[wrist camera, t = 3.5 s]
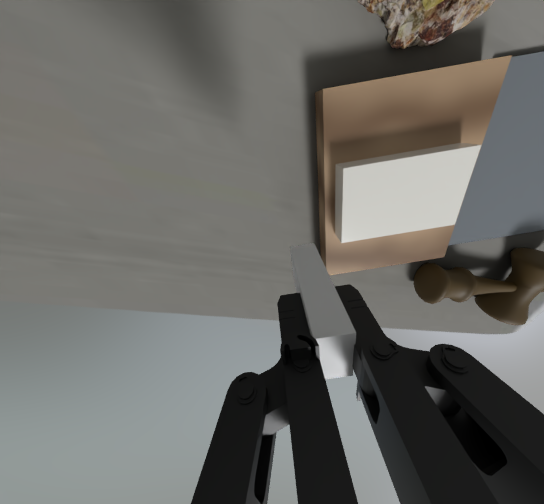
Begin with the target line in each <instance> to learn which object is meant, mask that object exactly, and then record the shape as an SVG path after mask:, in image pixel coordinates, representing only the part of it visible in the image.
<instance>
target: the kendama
mask: <svg viewBox="0 0 544 504" xmlns="http://www.w3.org/2000/svg"><path fill="white" fill-rule="evenodd" d="M511 264H512V271H511V273H510V274H509V276H508V277H507V278H506V280H505V281H499V280H493V279H488V278H483V277H479V276H475V275H473V274H472V273H471V272H470V271H469V270H467V269H465V268H463V267H454V268H452V269H450V270H444V269H443V268H442V267H440V266H439V265H437V264H435V263H426V264H424V265H422V266H421V267H420V268H419V269H418V270H417V272H416V274H415V277H414V287H415V291H416V292H417V294H418V296H419V297H420V298H421V299H422V300H424V301H425V302H427V303H431V304H434V303H437V302H440V301H441V300H442V299H443V298H450V299H452V300H453V301H456V302H463V301H467V300H468V299H469V298H470V297H471V296H473V295H478V294H479V295H478V296H476V297H475V302H476V304H477V305H478V306H479V307H480V308H481V309H482V310H483V311H484V312H485V313H487V314H488V315H489V316H491V317H493V318H495V319H496V320H499V321H501V322H504V323H507V324H511V325H523V324H525V323H526V321H527V319H528V308H529V304H530V302H531V301H532V300H533V299H534V297H536V296H537V295H538V294H539V293H540V292H544V252H543V251H539V250H535V249H530V248H515V249H513V250H512V251H511Z"/></svg>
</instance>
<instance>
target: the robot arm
mask: <svg viewBox="0 0 544 504" xmlns="http://www.w3.org/2000/svg"><path fill="white" fill-rule="evenodd" d="M290 252H291V260H292V269H293V277H294V283H295V287H296V292H297V293H294V294H287V295H281V296H280V299H279V301H278V303H277V304H278V313H279V322H280V331H281V340H282V344H281V349H280V351H281V358H280V360H279V361H278V363H277V364H276V365H275V366H274V367H272V368H271V369H269V370H267V371H265V372H263V373H261V374H259V375H258V374H256V373H253V372H247V373H243V374H241V375H239V376H238V377H236V379H235V380H234V381H232V383H231V385H230V387H229V389H228V391H227V394H226V398H225V401H224V404H223V407H222V410H221V413H220V416H219V419H218V422H217V425H216V428H215V431H214V434H213V438H212V441H211V444H210V447H209V450H208V453H207V456H206V459H205V462H204V465H203V469H202V471H201V474H200V477H199V481H198V484H197V487H196V490H195V493H194V496H193V499H192V502H191V504H267V500H268V493H269V485H270V477H271V469H272V462H273V454H274V446H275V439H276V432H277V431H279V430H280V429H282V428H284V427H285V426H287V425H289V424H290V432H291V442H292V451H293V460H294V469H295V479H296V488H297V496H298V504H358V502H357V498H356V494H355V490H354V487H353V483H352V479H351V475H350V471H349V468H348V464H347V460H346V457H345V453H344V449H343V445H342V442H341V438H340V434H339V430H338V426H337V422H336V419H335V415H334V411H333V408H332V404H331V400H330V396H329V392H328V389H327V385H326V381H325V379H331V378H338V377H345V376H352V375H353V369H354V372H355V374H356V377H357V379H358V383H357V393H356V395H357V400H358V401H360V398H361V399H362V402H363V404H364V407H365V410H366V413H367V415H368V418H369V421H370V423H371V426H372V429H373V431H374V434H375V437H376V439H377V442H378V445H379V448H380V450H381V453H382V456H383V458H384V461H385V464H386V466H387V469H388V472H389V474H390V477H391V480H392V482H393V485H394V488H395V490H396V493H397V496H398V498H399V501H400V503H401V504H544V414H543V413H541V412H540V411H539V410H538V409H536V408H535V407H534V406H533V405H532V404H530V403H529V402H528V401H526V400H525V399H524V398H523V397H522V396H521V395H519V394H518V393H517V392H516V391H514V390H513V389H512V388H511V387H509V386H508V385H507V384H506V383H505V382H503V381H502V380H501V379H500V378H498V377H497V376H496V375H495V374H493V373H492V372H491V371H490V370H488V369H487V368H486V367H485V366H484V365H482V364H481V363H480V362H479V361H477V360H476V359H475V358H474V357H472V356H471V355H470V354H468V353H467V352H465V351H464V350H462V349H460V348H458V347H455V346H453V345H447V344H438V345H435V346H434V347H432V348H431V349H430V352H429V351H422V350H416V349H409V348H405V347H402V346H399V345H397V344H396V343H395V342H394V341H393V340H391V339H389V338H388V337H386V335H385V334H384V333H383V331H382V330H381V328H380V326H379V324H378V323H377V321H376V319H375V318H374V316H373V314H372V313H371V311H370V309H369V308H368V307H367V304H366V303H365V301H364V300H363V298H362V296H361V295H360V293H359V291H358V290H357V289H355V288H354V287H353V286H351V285H350V284H349V285H342V286H336V287H335V286H334V284H333V282H332V280H331V278H330V276H329V274H328V272H327V269H326V267H325V265H324V263H323V261H322V259H321V257H320V255H319V252H318V250H317V248H316V246H315V244H314V243H311V244H304V245H298V246H292V247H290Z"/></svg>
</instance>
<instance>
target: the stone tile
mask: <svg viewBox="0 0 544 504" xmlns="http://www.w3.org/2000/svg"><path fill="white" fill-rule="evenodd" d="M480 148H481V145H478V144H469V143H456V144H450V145H444V146H438V147H433V148H427V149H421V150H415V151H409V152H403V153H397V154H392V155H386V156H380V157H374V158H368V159H362V160H357V161H351V162H345V163H339V164H336V170H335V235H336V236H337V238H338V239H339V240H340V242H341V243H346V242H352V241H358V240H364V239H370V238H376V237H382V236H389V235H395V234H401V233H407V232H413V231H419V230H425V229H432V228H438V227H444V226H450V225H455V222H456V219H457V216H458V213H459V210H460V207H461V205H462V202H463V199H464V196H465V193H466V190H467V187H468V184H469V181H470V178H471V175H472V172H473V169H474V166H475V163H476V160H477V157H478V154H479V151H480Z"/></svg>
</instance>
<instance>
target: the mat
mask: <svg viewBox="0 0 544 504" xmlns="http://www.w3.org/2000/svg"><path fill="white" fill-rule="evenodd" d="M541 230H544V51H543V52H537V53H532V54H526V55H521V56H515V57H511V60H510V63H509V66H508V69H507V72H506V75H505V78H504V81H503V84H502V87H501V89H500V92H499V95H498V98H497V101H496V104H495V107H494V110H493V113H492V116H491V119H490V122H489V125H488V128H487V131H486V134H485V137H484V140H483V143H482V146H481V149H480V152H479V155H478V158H477V161H476V164H475V167H474V170H473V173H472V176H471V179H470V182H469V185H468V188H467V191H466V194H465V197H464V200H463V203H462V206H461V209H460V212H459V215H458V218H457V220H456V223H455V226H454V229H453V232H452V235H451V238H450V241H449V244H448V245H454V244H460V243H466V242H473V241H479V240H485V239H491V238H497V237H504V236H510V235H516V234H522V233H529V232H535V231H541Z"/></svg>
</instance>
